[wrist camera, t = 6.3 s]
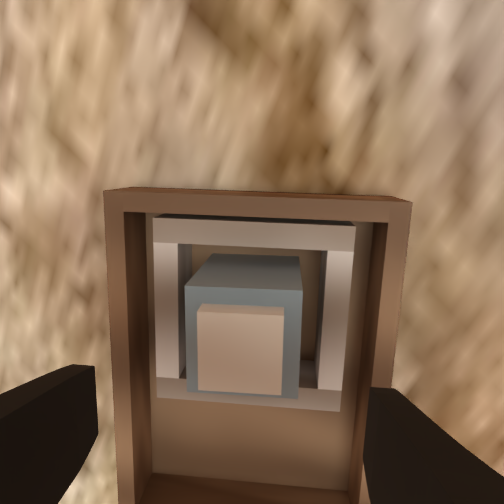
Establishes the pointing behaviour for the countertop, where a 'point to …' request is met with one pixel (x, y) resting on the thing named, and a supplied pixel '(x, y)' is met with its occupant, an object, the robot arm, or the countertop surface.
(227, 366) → the block
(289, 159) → the countertop surface
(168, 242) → the box
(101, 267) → the countertop surface
